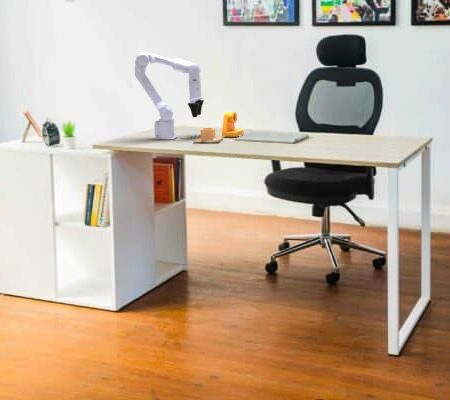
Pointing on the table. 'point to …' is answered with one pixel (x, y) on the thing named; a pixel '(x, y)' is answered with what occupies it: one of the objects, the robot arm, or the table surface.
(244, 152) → the table surface
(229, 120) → the bracket
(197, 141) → the post base
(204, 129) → the collar
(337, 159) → the table surface
